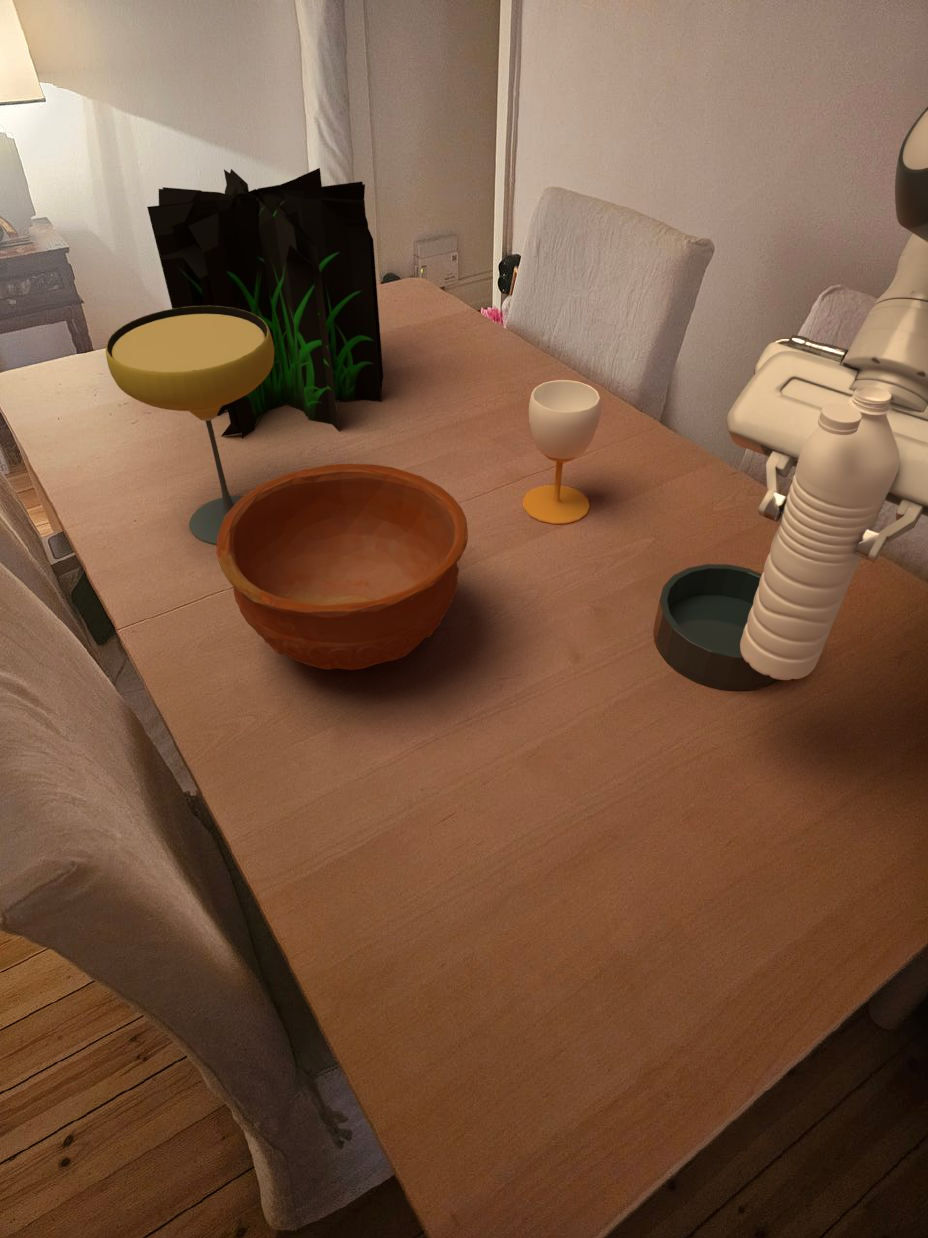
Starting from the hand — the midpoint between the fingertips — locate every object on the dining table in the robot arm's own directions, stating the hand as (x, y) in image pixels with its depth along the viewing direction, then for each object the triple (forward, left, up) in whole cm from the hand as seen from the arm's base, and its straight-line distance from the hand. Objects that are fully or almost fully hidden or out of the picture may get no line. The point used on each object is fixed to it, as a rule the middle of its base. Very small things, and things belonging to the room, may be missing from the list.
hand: (815, 536), depth 61 cm
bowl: (+41, +10, -27) cm, 50 cm away
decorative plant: (+88, -25, -27) cm, 95 cm away
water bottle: (0, -1, -14) cm, 14 cm away
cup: (+37, -25, -27) cm, 52 cm away
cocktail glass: (+69, +4, -27) cm, 74 cm away
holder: (+8, -14, -27) cm, 31 cm away
